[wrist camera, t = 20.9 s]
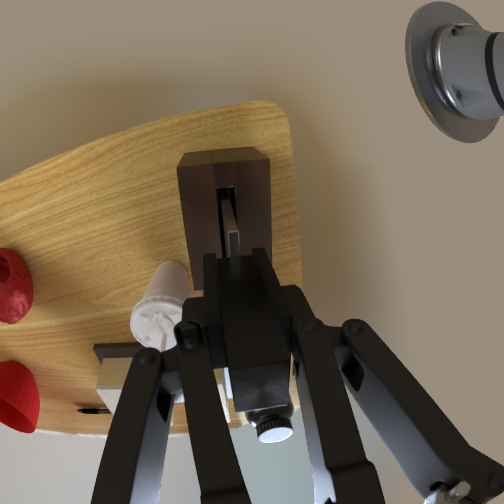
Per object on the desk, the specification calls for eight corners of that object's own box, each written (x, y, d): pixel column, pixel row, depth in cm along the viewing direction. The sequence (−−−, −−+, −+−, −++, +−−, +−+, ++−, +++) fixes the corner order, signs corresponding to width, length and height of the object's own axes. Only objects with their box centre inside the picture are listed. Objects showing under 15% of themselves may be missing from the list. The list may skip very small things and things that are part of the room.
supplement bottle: (256, 389, 46) (269, 449, 35) (229, 372, 43) (238, 438, 32) (289, 369, 45) (309, 431, 34) (264, 350, 42) (282, 417, 31)
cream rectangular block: (219, 350, 39) (222, 384, 34) (226, 391, 44) (230, 422, 38) (190, 353, 39) (190, 387, 33) (202, 394, 43) (203, 424, 38)
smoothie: (151, 298, 35) (134, 389, 23) (139, 252, 32) (109, 337, 20) (201, 294, 36) (204, 386, 23) (194, 247, 33) (191, 333, 20)
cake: (157, 355, 38) (154, 389, 33) (173, 396, 43) (173, 426, 37) (103, 357, 37) (95, 389, 32) (125, 397, 42) (121, 426, 37)
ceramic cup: (-26, 349, 35) (-46, 384, 26) (22, 345, 36) (0, 389, 27) (9, 392, 41) (-4, 427, 32) (60, 394, 42) (48, 436, 33)
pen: (137, 404, 44) (136, 409, 43) (141, 409, 45) (140, 414, 44) (75, 405, 43) (74, 409, 42) (79, 410, 44) (78, 414, 43)
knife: (235, 184, 25) (293, 328, 9) (239, 247, 28) (286, 421, 12) (209, 187, 25) (223, 338, 9) (215, 250, 27) (238, 429, 12)
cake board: (228, 334, 39) (229, 339, 38) (237, 392, 46) (237, 397, 45) (94, 343, 37) (92, 348, 36) (124, 399, 44) (124, 403, 43)
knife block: (253, 146, 29) (269, 158, 22) (258, 244, 34) (272, 282, 27) (184, 153, 28) (176, 167, 21) (196, 251, 33) (194, 291, 26)
